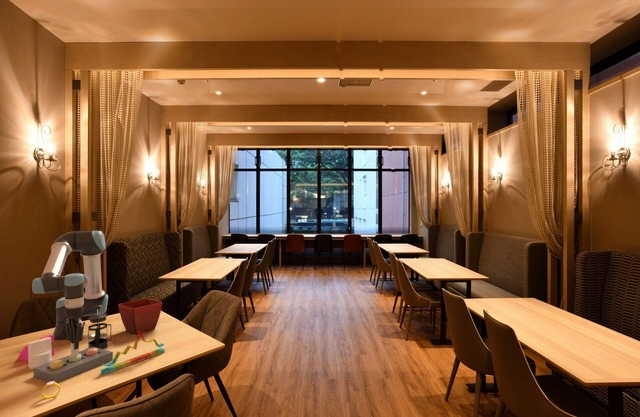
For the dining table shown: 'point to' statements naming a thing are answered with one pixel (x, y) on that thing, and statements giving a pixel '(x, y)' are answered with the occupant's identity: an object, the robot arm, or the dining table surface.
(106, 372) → the chart
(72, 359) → the sage button
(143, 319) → the plant pot
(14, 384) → the dining table surface
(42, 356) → the translucent white block
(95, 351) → the terracotta button
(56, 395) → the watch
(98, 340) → the french press
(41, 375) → the button panel
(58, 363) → the ochre button
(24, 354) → the bracket
